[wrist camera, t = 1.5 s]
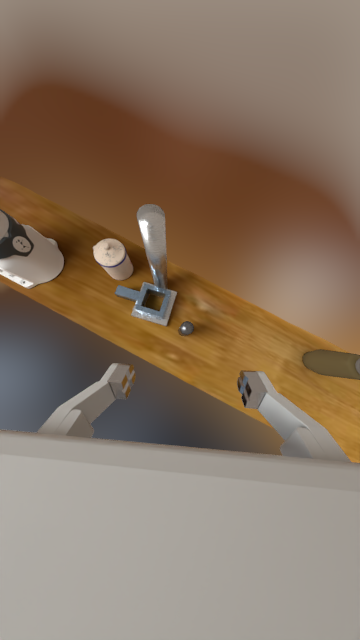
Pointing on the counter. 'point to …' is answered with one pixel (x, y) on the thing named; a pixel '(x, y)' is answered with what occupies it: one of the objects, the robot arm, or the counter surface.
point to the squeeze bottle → (333, 363)
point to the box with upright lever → (152, 268)
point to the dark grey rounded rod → (186, 328)
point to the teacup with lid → (113, 258)
